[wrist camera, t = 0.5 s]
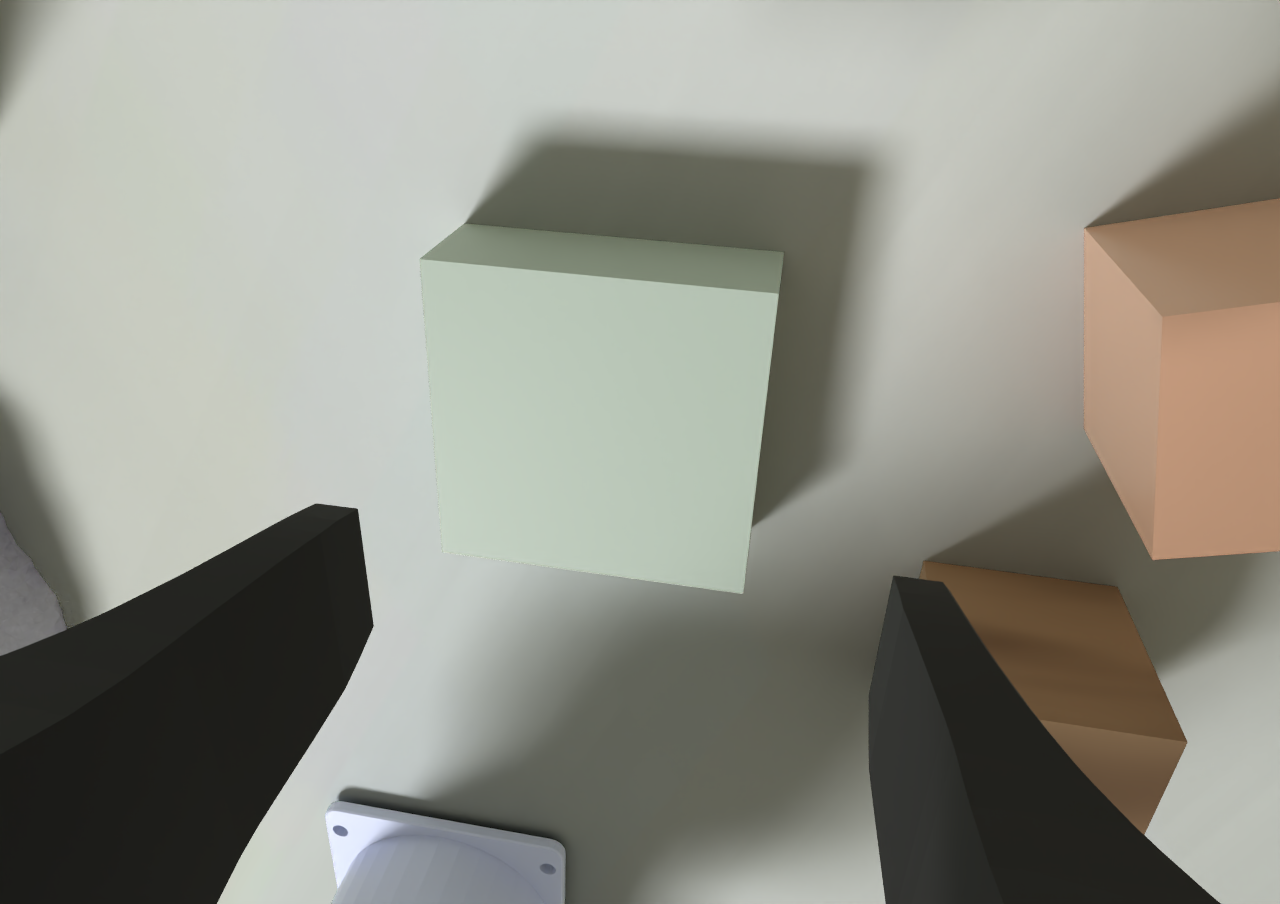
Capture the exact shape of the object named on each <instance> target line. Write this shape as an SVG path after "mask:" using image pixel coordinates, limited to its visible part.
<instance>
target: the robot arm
mask: <svg viewBox="0 0 1280 904" xmlns="http://www.w3.org/2000/svg"><path fill="white" fill-rule="evenodd" d="M372 628H373V618H372V611H371V603H370V596H369V589H368V581H367V574H366V566H365V559H364V552H363V544H362V537H361V529H360V522H359V515H358V509H356V508H348V507H340V506H332V505H324V504H314V505H312V506H310V507H308V508H305V509H303V510H301V511H299V512H297V513H295V514H293V515H291V516H289V517H287V518H285V519H283V520H281V521H280V522H278V523H276V524H274V525H272V526H270V527H268V528H267V529H265V530H263V531H261V532H259V533H257V534H256V535H254V536H252V537H250V538H248V539H246V540H245V541H243V542H241V543H239V544H237V545H236V546H234V547H232V548H230V549H228V550H226V551H224V552H223V553H221V554H219V555H217V556H215V557H213V558H212V559H210V560H208V561H206V562H204V563H202V564H200V565H199V566H197V567H195V568H193V569H191V570H189V571H188V572H186V573H184V574H182V575H180V576H178V577H176V578H174V579H172V580H170V581H168V582H166V583H164V584H162V585H160V586H158V587H156V588H154V589H152V590H150V591H148V592H146V593H144V594H142V595H140V596H138V597H136V598H134V599H132V600H130V601H128V602H126V603H124V604H122V605H120V606H118V607H116V608H114V609H112V610H109V611H107V612H105V613H103V614H101V615H99V616H96V617H94V618H92V619H90V620H88V621H85V622H83V623H81V624H78V625H76V626H74V627H72V628H69V629H67V630H65V631H62V632H60V633H57V634H55V635H52V636H50V637H47V638H45V639H42V640H40V641H37V642H35V643H33V644H30V645H28V646H25V647H23V648H20V649H17V650H15V651H12V652H10V653H7V654H4V655H1V656H0V904H217V902H218V900H219V898H220V896H221V894H222V892H223V890H224V888H225V886H226V884H227V882H228V880H229V878H230V876H231V874H232V872H233V870H234V868H235V866H236V864H237V862H238V860H239V858H240V857H241V855H242V853H243V851H244V850H245V848H246V846H247V844H248V843H249V841H250V839H251V838H252V836H253V834H254V832H255V831H256V829H257V827H258V826H259V824H260V822H261V821H262V819H263V818H264V816H265V815H266V813H267V811H268V810H269V808H270V807H271V805H272V804H273V802H274V800H275V799H276V797H277V796H278V794H279V793H280V791H281V790H282V788H283V786H284V785H285V783H286V782H287V780H288V779H289V777H290V775H291V774H292V772H293V771H294V769H295V768H296V766H297V765H298V763H299V761H300V760H301V758H302V757H303V755H304V754H305V752H306V751H307V749H308V747H309V746H310V744H311V743H312V741H313V740H314V738H315V736H316V735H317V733H318V732H319V730H320V728H321V727H322V725H323V724H324V722H325V721H326V719H327V717H328V716H329V714H330V713H331V711H332V709H333V708H334V706H335V705H336V703H337V701H338V700H339V698H340V696H341V695H342V693H343V691H344V690H345V688H346V686H347V684H348V682H349V680H350V678H351V675H352V673H353V671H354V669H355V667H356V665H357V663H358V661H359V658H360V656H361V654H362V652H363V649H364V647H365V645H366V642H367V640H368V638H369V635H370V633H371V631H372ZM869 773H870V781H871V790H872V798H873V806H874V814H875V822H876V830H877V838H878V846H879V854H880V862H881V870H882V878H883V885H884V893H885V901H886V904H1220V903H1219V902H1218V901H1217V900H1216V899H1214V898H1213V897H1212V896H1211V895H1210V894H1209V893H1207V892H1206V891H1205V890H1204V889H1203V888H1202V887H1201V886H1200V885H1198V884H1197V883H1196V882H1195V881H1194V880H1193V879H1192V878H1191V877H1190V876H1188V875H1187V874H1186V873H1185V872H1184V871H1183V870H1182V869H1181V868H1179V867H1178V866H1177V865H1176V864H1175V863H1174V862H1173V861H1172V860H1170V859H1169V858H1168V857H1167V856H1166V855H1165V854H1164V853H1163V852H1161V851H1160V850H1159V849H1158V848H1157V847H1156V846H1155V845H1154V844H1153V843H1152V842H1151V841H1150V840H1149V839H1148V838H1147V837H1146V836H1145V835H1144V834H1142V833H1141V832H1140V831H1139V830H1138V829H1137V828H1136V827H1135V826H1134V825H1133V824H1132V823H1131V822H1130V821H1129V820H1128V819H1127V818H1126V817H1125V816H1124V815H1123V814H1122V813H1121V812H1120V811H1119V809H1118V808H1117V807H1116V806H1115V805H1114V804H1113V803H1112V802H1111V801H1110V800H1109V799H1108V798H1107V797H1106V796H1105V795H1104V794H1103V793H1102V792H1101V791H1100V790H1099V789H1098V788H1097V787H1096V786H1095V785H1094V784H1093V783H1092V782H1091V781H1090V779H1089V778H1088V777H1087V776H1086V775H1085V774H1084V773H1083V772H1082V771H1081V770H1080V768H1079V767H1078V766H1077V765H1076V764H1075V763H1074V762H1073V760H1072V759H1071V758H1070V757H1069V756H1068V754H1067V753H1066V752H1065V751H1064V750H1063V748H1062V747H1061V746H1060V745H1059V744H1058V742H1057V741H1056V740H1055V739H1054V738H1053V736H1052V735H1051V734H1050V733H1049V732H1048V730H1047V729H1046V728H1045V727H1044V725H1043V724H1042V723H1041V721H1040V720H1039V719H1038V718H1037V716H1036V715H1035V714H1034V712H1033V711H1032V710H1031V709H1030V707H1029V706H1028V705H1027V703H1026V702H1025V701H1024V699H1023V698H1022V696H1021V695H1020V694H1019V692H1018V691H1017V690H1016V688H1015V687H1014V686H1013V684H1012V683H1011V681H1010V680H1009V679H1008V677H1007V676H1006V675H1005V673H1004V672H1003V671H1002V669H1001V668H1000V666H999V665H998V663H997V662H996V661H995V659H994V658H993V656H992V655H991V653H990V652H989V650H988V649H987V647H986V646H985V644H984V643H983V641H982V640H981V638H980V637H979V635H978V634H977V632H976V631H975V629H974V628H973V626H972V625H971V623H970V622H969V620H968V619H967V617H966V615H965V614H964V612H963V611H962V609H961V608H960V606H959V604H958V603H957V601H956V600H955V598H954V597H953V595H952V593H951V592H950V590H949V589H948V588H947V586H946V585H945V584H944V583H943V582H940V581H932V580H924V579H916V578H908V577H900V576H893V580H892V585H891V590H890V595H889V600H888V605H887V610H886V615H885V619H884V624H883V629H882V634H881V639H880V644H879V649H878V654H877V659H876V663H875V668H874V673H873V678H872V683H871V688H870V693H869ZM325 819H326V825H327V831H328V836H329V842H330V848H331V854H332V859H333V865H334V871H335V876H336V882H337V888H338V890H337V892H336V894H335V896H334V898H333V900H332V902H331V904H565V865H566V852H565V848H564V847H563V846H562V844H561V843H559V842H558V841H556V840H553V839H549V838H543V837H538V836H532V835H527V834H521V833H516V832H510V831H504V830H499V829H493V828H488V827H482V826H477V825H471V824H466V823H460V822H454V821H449V820H443V819H438V818H432V817H427V816H421V815H416V814H410V813H404V812H399V811H393V810H388V809H382V808H377V807H371V806H366V805H360V804H354V803H349V802H343V801H336V802H333V803H332V804H331V805H330V806H329V808H328V809H327V811H326V813H325Z"/></svg>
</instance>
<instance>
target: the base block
mask: <svg viewBox="0 0 1280 904" xmlns="http://www.w3.org/2000/svg"><path fill="white" fill-rule="evenodd" d="M783 258H784V252H778V251H767V250H756V249H745V248H734V247H723V246H711V245H700V244H689V243H678V242H667V241H656V240H645V239H633V238H622V237H611V236H600V235H589V234H578V233H566V232H555V231H544V230H533V229H522V228H511V227H500V226H488V225H477V224H466V223H464V224H463V225H462V226H461V227H459V228H458V229H457V230H456V231H454V232H453V233H452V234H451V235H449V236H448V237H447V238H445V239H444V240H443V241H442V242H440V243H439V244H438V245H437V246H435V247H434V248H433V249H432V250H430V251H429V252H428V253H427V254H425V255H424V256H423V257H422V258H420V272H421V285H422V298H423V311H424V324H425V337H426V350H427V363H428V376H429V389H430V402H431V415H432V429H433V442H434V455H435V468H436V481H437V494H438V507H439V520H440V533H441V546H442V552H443V553H450V554H458V555H465V556H472V557H479V558H487V559H494V560H501V561H508V562H515V563H523V564H530V565H537V566H544V567H552V568H559V569H566V570H573V571H580V572H588V573H595V574H602V575H609V576H617V577H624V578H631V579H638V580H645V581H653V582H660V583H667V584H674V585H682V586H689V587H696V588H703V589H711V590H718V591H725V592H732V593H739V594H743V591H744V583H745V575H746V567H747V559H748V551H749V543H750V535H751V527H752V519H753V511H754V502H755V494H756V485H757V477H758V468H759V460H760V451H761V443H762V435H763V426H764V418H765V409H766V401H767V392H768V384H769V376H770V367H771V359H772V350H773V342H774V333H775V325H776V317H777V308H778V300H779V291H780V283H781V274H782V266H783Z"/></svg>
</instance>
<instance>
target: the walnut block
mask: <svg viewBox="0 0 1280 904" xmlns="http://www.w3.org/2000/svg"><path fill="white" fill-rule="evenodd" d="M919 579H924V580H932V581H940V582H943V583H944V584H945V585H946V586H947V588H948V589H949V590H950V592H951V593H952V595H953V597H954V598H955V600H956V601H957V603H958V604H959V606H960V608H961V609H962V611H963V612H964V614H965V615H966V617H967V619H968V620H969V622H970V623H971V625H972V626H973V628H974V629H975V631H976V632H977V634H978V635H979V637H980V638H981V640H982V641H983V643H984V644H985V646H986V647H987V649H988V650H989V652H990V653H991V655H992V656H993V658H994V659H995V661H996V662H997V663H998V665H999V666H1000V668H1001V669H1002V671H1003V672H1004V673H1005V675H1006V676H1007V677H1008V679H1009V680H1010V681H1011V683H1012V684H1013V686H1014V687H1015V688H1016V690H1017V691H1018V692H1019V694H1020V695H1021V696H1022V698H1023V699H1024V701H1025V702H1026V703H1027V705H1028V706H1029V707H1030V709H1031V710H1032V711H1033V712H1034V714H1035V715H1036V716H1037V718H1038V719H1039V720H1040V721H1041V723H1042V724H1043V725H1044V727H1045V728H1046V729H1047V730H1048V732H1049V733H1050V734H1051V735H1052V736H1053V738H1054V739H1055V740H1056V741H1057V742H1058V744H1059V745H1060V746H1061V747H1062V748H1063V750H1064V751H1065V752H1066V753H1067V754H1068V756H1069V757H1070V758H1071V759H1072V760H1073V762H1074V763H1075V764H1076V765H1077V766H1078V767H1079V768H1080V770H1081V771H1082V772H1083V773H1084V774H1085V775H1086V776H1087V777H1088V778H1089V779H1090V781H1091V782H1092V783H1093V784H1094V785H1095V786H1096V787H1097V788H1098V789H1099V790H1100V791H1101V792H1102V793H1103V794H1104V795H1105V796H1106V797H1107V798H1108V799H1109V800H1110V801H1111V802H1112V803H1113V804H1114V805H1115V806H1116V807H1117V808H1118V809H1119V811H1120V812H1121V813H1122V814H1123V815H1124V816H1125V817H1126V818H1127V819H1128V820H1129V821H1130V822H1131V823H1132V824H1133V825H1134V826H1135V827H1136V828H1137V829H1138V830H1139V831H1140V832H1141V833H1142V834H1145V832H1146V830H1147V828H1148V826H1149V823H1150V821H1151V819H1152V817H1153V815H1154V813H1155V811H1156V809H1157V806H1158V804H1159V802H1160V800H1161V798H1162V796H1163V794H1164V791H1165V789H1166V787H1167V785H1168V783H1169V781H1170V779H1171V776H1172V774H1173V772H1174V770H1175V768H1176V766H1177V764H1178V762H1179V759H1180V757H1181V755H1182V753H1183V751H1184V749H1185V747H1186V744H1187V740H1186V738H1185V736H1184V733H1183V731H1182V729H1181V727H1180V725H1179V722H1178V720H1177V718H1176V716H1175V713H1174V711H1173V709H1172V707H1171V705H1170V702H1169V700H1168V698H1167V696H1166V693H1165V691H1164V689H1163V687H1162V685H1161V682H1160V680H1159V678H1158V676H1157V673H1156V671H1155V669H1154V667H1153V665H1152V662H1151V660H1150V658H1149V656H1148V653H1147V651H1146V649H1145V647H1144V645H1143V642H1142V640H1141V638H1140V636H1139V634H1138V631H1137V629H1136V627H1135V625H1134V622H1133V620H1132V618H1131V616H1130V614H1129V611H1128V609H1127V607H1126V605H1125V602H1124V600H1123V598H1122V596H1121V594H1120V591H1119V589H1118V587H1115V586H1107V585H1100V584H1092V583H1085V582H1078V581H1070V580H1063V579H1055V578H1048V577H1041V576H1033V575H1026V574H1018V573H1011V572H1004V571H996V570H989V569H981V568H974V567H967V566H959V565H952V564H944V563H937V562H930V561H923V565H922V569H921V573H920V577H919Z"/></svg>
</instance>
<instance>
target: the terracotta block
mask: <svg viewBox="0 0 1280 904" xmlns="http://www.w3.org/2000/svg"><path fill="white" fill-rule="evenodd" d="M1084 430H1085V432H1086V434H1087V436H1088V438H1089V440H1090V442H1091V444H1092V446H1093V448H1094V449H1095V451H1096V453H1097V455H1098V457H1099V459H1100V461H1101V463H1102V465H1103V467H1104V469H1105V470H1106V472H1107V474H1108V476H1109V478H1110V480H1111V482H1112V484H1113V486H1114V488H1115V490H1116V491H1117V493H1118V495H1119V497H1120V499H1121V501H1122V503H1123V505H1124V507H1125V509H1126V511H1127V512H1128V514H1129V516H1130V518H1131V520H1132V522H1133V524H1134V526H1135V528H1136V530H1137V532H1138V533H1139V535H1140V537H1141V539H1142V541H1143V543H1144V545H1145V547H1146V549H1147V551H1148V553H1149V554H1150V556H1151V558H1152V560H1160V559H1174V558H1189V557H1203V556H1217V555H1232V554H1246V553H1260V552H1274V551H1280V198H1278V199H1272V200H1265V201H1258V202H1252V203H1245V204H1239V205H1232V206H1226V207H1219V208H1212V209H1206V210H1199V211H1193V212H1186V213H1179V214H1173V215H1166V216H1160V217H1153V218H1147V219H1140V220H1133V221H1127V222H1120V223H1114V224H1107V225H1101V226H1094V227H1087V228H1084Z"/></svg>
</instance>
